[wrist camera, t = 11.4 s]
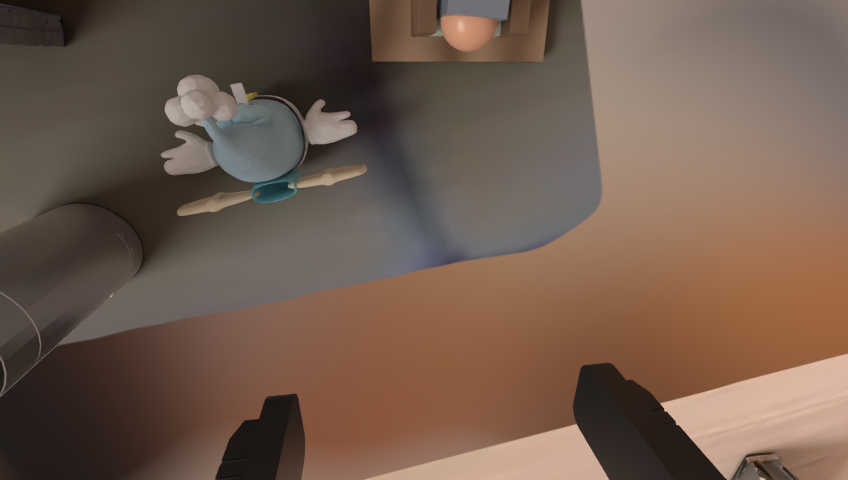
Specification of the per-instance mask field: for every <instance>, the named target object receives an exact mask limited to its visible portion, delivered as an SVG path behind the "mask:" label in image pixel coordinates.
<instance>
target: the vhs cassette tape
mask: <svg viewBox="0 0 848 480" xmlns="http://www.w3.org/2000/svg"><path fill="white" fill-rule="evenodd" d="M60 19H61V16H60V15H56V14H49V13H44V12H40V11H37V10H30V9H26V8H22V7H17V6H12V5H7V4H2V3H0V44H5V45H23V46H28V45H30V46H42V47H43V46H51V47H64V33H63V28H62V26H61V23H60V21H59V20H60Z"/></svg>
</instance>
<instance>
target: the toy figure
mask: <svg viewBox="0 0 848 480" xmlns="http://www.w3.org/2000/svg"><path fill="white" fill-rule="evenodd" d="M230 86H231V89H232V91H233V94H234V96H235V99H236V102H235V99H234V98H233V97H232V96H231V95H229V94H227V93H225V92H223V91H222V92H220V90H219V88H218V86H217V85H216V84H215V83H214V82H213V81H212V80H211V79H209V78H207V77H204V76H202V75H191V76H187V77H186V78H184V79H183V80H181V81H180V82H179V85H178V87H177V91H178V97H175V98H172V99H169V100H168V101H167V103H166V105H165V113H166V114H167V116H168V118H169V120H170V121H171V122H173V123H174V124H176V125H180V126H184V127H187V126H189V125H192V124H194V123H195V124H196V125H199V126H203V127H205V129H206V131H207V132H208V134H209V135H210V137H211V138H212V140H213V144H212V143H211V142H207V141H205V140H204V139H202V138H200V137H198V136H197V135H195V134H193V133H190V132H186V131H183V130H179V131H177V132H176V133H175V136H176V137H178V138H181V139H184V140H185V141H186V143H185V144H183V145H181V146H180V147H177V148H173V149H170V150H167V151H164V152H163V153H161V156H162V157H163V158H172V159H170V160H167V161H166V163H165V164H164V168H165V170H166V172H167V173H169V174H170V175H180V174H193V173H200V172H204V171H207V170H210V169H212V168H214V167H216V166H219V165H220V166H221V168H222V169H223V170H224V171H226V172H227V173H228V174H230V175H232V176H233V177H235V178H237V179H240V180H242V181H247V182H257V183H256V185H255V186H254V187H253V188H252V190H245V191H238V192H231V193H224V192H219V193H217V194H215V195H214V196H211V197H208V198H204V199H200V200H197V201H194V202H191V203H188V204H185V205H183V206H181V207H180V208H179V209H178V210H177V214H178V215H179V216H185V215H192V214H197V213H202V212H207V211H209V212H216V211H219V210H220V209H222V208H224V207H226V206H230V205H233V204H236V203H240V202H243V201H246V200H249V199H251V198H253V200H254V201H255V202H257V203H270V202H275V201H280V200H283V199H286V198H288V197H291V196H293V195H295V194H296V193H297V192H298V190H299V189H300V188H304V187H310V186H316V185H327V186H328V185H332V184H334V183H335V182H338V181H341V180H345V179H348V178H352V177H355V176H358V175H362V174H364V173H365V172H366V171H367V167H366V166H365V165H364V164H357V165H349V166H343V167H338V168H333V167H328V168H326V169H325V170H323V171H322V172H319V173H315V174H312V175H308V176H305V177H303V176H302V174H301V172H300V171H298V170H296V169H298V167H299V166H300V165H301V164H302V162H303V160H304V159H305V156H306V153H307V149H308V143H309V142H310V144H312V145H314V144H328V143H333V142H336V141H338V140H341V139H343V138H346V137H348V136H351V135H353V134H355V133H356V132H357V125H356V123H355V122H354V121H352V120H343V119H345V118H348V117H349V116H350V112H348V111H342V112H334V113H325V112H321V108H322V107H323V106H324V105H325V101H323V100H322V99H319V100H318V101H316V102H315V103H314V104H313V106H312V107H311V108H310V110H309V112H308V113H307V115H306V118H305V120H304V119H303V117H302V115H301V114H300V112H299V111H298V109H297V108H296V107H295V106H294V105H293V104H292V103H291V102H289V101H287V100H286V99H284V98H281V97H278V96H272V95H260V96H258V94H257V92H254V93H249V94H246V93H245V91H244V88H243V85H242V83H237V84H232V85H230ZM257 97H275V98H278V99H281V100H283V101H284V102H286V103H287V104H288V105H289V106H291V107H292V108H293V110H294V111H295V112H296V114H297V115H298V117H299V119H300V121H301V124H302V127H303V129H302V127H301V124H300V122H299V119H298V117H297V116H296V114H295V113H294V112H293V111H292V110H291V109H290V108H289V107H287V106H286V105H284V104H282V103H280V102H278V101H274V100H268V99H256V98H257ZM254 99H255V100H254ZM303 130H304V134H303ZM304 135H305V152H304V156H303V159H302V161H301V162H300V164H299V165H298V166H297V167H296V168H295V169H293V168H294V167H295V166H296V165H297V164H298V163H299V161H300V159H301V157H302V155H303V151H304ZM308 141H309V142H308Z"/></svg>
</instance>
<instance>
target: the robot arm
mask: <svg viewBox="0 0 848 480" xmlns="http://www.w3.org/2000/svg"><path fill="white" fill-rule="evenodd" d="M142 259H143V251H142V246H141V243H140V240H139V238H138V236H137V234H136V233H135V232H134V230H133V229H132V228H131V227H130V226H129V225H128V224H127V223H126V222H125V221H124V220H123V219H122V218H120V217H119V216H117V215H116V214H114V213H112V212H110V211H108V210H106V209H104V208H101V207H98V206H94V205H89V204H81V203H78V204H67V205H63V206H59V207H57V208H55V209H53V210H50V211H48V212H46V213H44V214H42V215H39V216H37V217H35V218H33V219H31V220H29V221H26V222H24V223H22V224H19V225H17V226H15V227H13V228H11V229H8V230H6V231H4V232H2V233H0V397H1V396H2V395H3V394H4V393H5V392H6V391H7V390H8V389H9V388H11V387H12V386H13V385H14V384H15V383H16V382H17V381H18V380H19V379H20V378H22V377H23V376H24V375H25V374H26V373H27V372H28V371H29V370H30V369H31V368H32V367H33V366H34V365H36V364H37V363H38V362H39V361H40V360H41V359H42V358H43V357H44V356H45V355H47V354H48V353H49V352H50V351H51V350H52V349H53V348H54V347H56V346H57V345H58V344H59V343H60V342H61V341H62V340H63V339H64V338H65V337H67V336H68V335H69V334H70V333H71V332H72V331H73V330H74V329H75V328H77V327H78V326H79V325H80V324H81V323H82V322H83V321H84V320H85V319H86V318H88V317H89V316H90V315H91V314H92V313H93V312H94V311H95V310H96V309H98V308H99V307H100V306H101V305H102V304H103V303H104V302H105V301H106V300H107V299H109V298H110V297H111V296H112V295H113V294H114V293H115V292H116V291H117V290H119V289H120V288H121V287H122V286H123V285H124V284H125V283H126V282H127V281H129V280H130V279H131V278H132V277H133V276H134V275H135V274H136V273H137V271H138V270H139V268H140V266H141V263H142ZM573 412H574V417H575V420H576V423H577V425H578V427H579V429H580V431H581V432H582V434H583V436H584V438H585V439H586V441H587V443H588V444H589V446H590V448H591V449H592V451H593V453H594V454H595V456H596V458H597V460H598V461H599V463H600V465H601V466H602V468H603V470H604V471H605V473H606V475H607V476H608V478H609V480H726V478H725V477H724V476H723V475H722V474H721V473H720V472H719V471H718V470H717V468H716V467H715V466H714V465H713V464H712V463H711V462H710V460H709V459H708V458H707V457H706V456H705V455H704V454H703V452H702V451H701V450H700V449H699V448H698V447H697V446H696V444H695V443H694V442H693V441H692V440H691V439H690V438H689V436H688V435H687V434H686V433H685V432H684V431H683V430H682V428H681V427H680V426H679V425H676V422H675V420H674V419H673V418H672V417H671V416H670V415H669V414H668V412H665V411H664V408H663V407H662V405H661V404H660V403H659V402H658V401H657V400H656V399H655V397H654V396H653V395H652V394H651V393H650V392H649V391H647V390H646V389H644V388H643V387H641V386H640V385H638V384H637V383H636V382H634V381H633V380H625V378H624V377H623V376H622V375H621V374H620V372H619V371H618V370H617V369H616V368H615V366H614V365H612V364H611V363H602V364H591V365H584V366H582V367H581V369H580V374H579V378H578V383H577V388H576V393H575V397H574V402H573ZM304 457H305V434H304V428H303V422H302V416H301V411H300V406H299V399H298V396H297V394H288V395H278V396H269V397H267V398H266V399H265V402H264V405H263V408H262V411H261V415H260V418H259V419H256V420H246V421H244V422H243V423H242V424H241V426H240V427H239V428H238V429H237V431H236V432H235V433H234V434H233V436H232V437H231V438H230V439H229V442H228V445H227V447H226V450H225V453H224V456H223V458H222V464H221V465H220V467H219V469H218V472H217V475H216V478H215V479H216V480H301V477H302V471H303V464H304Z"/></svg>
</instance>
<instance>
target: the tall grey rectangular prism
mask: <svg viewBox="0 0 848 480" xmlns="http://www.w3.org/2000/svg"><path fill="white" fill-rule="evenodd" d="M509 2H510V0H437V10H436V21H440V22H441V29H442V32H443V35H444V37H445V39H446V40H447V42H448V43H449V44H450V45H451V46H452V47H454V48H455V49H457V50H460V51H464V52H472V51H476V50H478V49H481V48H482V47H484V46H485V45H486V44H487V43H488V42H489V41H490V40H491V39H492V37H493V36H494V34H495V31H496V29H497V25H498V22H501V21H504V20H507V17H508V9H509Z"/></svg>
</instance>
